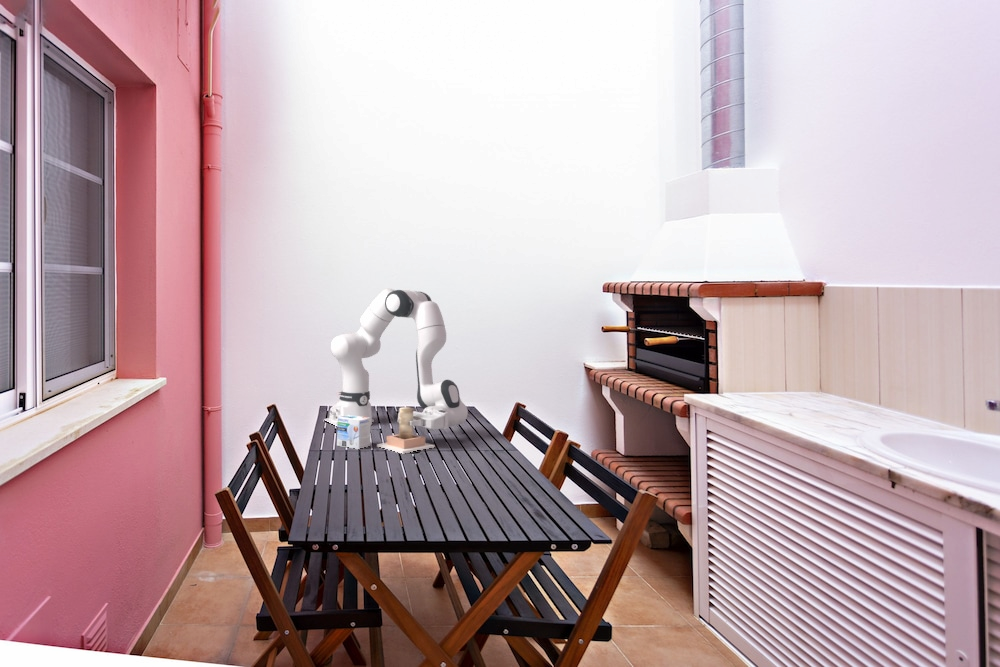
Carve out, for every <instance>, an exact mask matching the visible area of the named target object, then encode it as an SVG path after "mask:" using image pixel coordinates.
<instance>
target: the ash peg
mask: <svg viewBox="0 0 1000 667" xmlns="http://www.w3.org/2000/svg"><path fill="white" fill-rule="evenodd" d="M413 411H414V407H409V406H405V407H399V412H400V413H399V412H398V413H399V423H398V425H399V427H398V429H399V430H398V432H399V433H398V434H399V438H401V439H410V438H413V434H414V426H410V425H409V421H410V420H413Z"/></svg>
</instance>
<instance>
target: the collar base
mask: <svg viewBox="0 0 1000 667" xmlns="http://www.w3.org/2000/svg"><path fill="white" fill-rule="evenodd" d="M379 447H381V448H380V449H382V448H385V449H384V450H386V449H388V450H387V451H390V450H392V451H391V452H393V451H395V452H394V453H397V452H398V453H399V454H401V453H402V455H405V453H406V454H411V453H414V452H413V451H416V452H418V451H417V450H421V451H424V450H423V449H426V450H430V449H429V448H432V449H435V448H436V446H435V444H431V443H429V442H426V436H423V435H418V434H415V433H413V438H410V439H401V438H399V433H398V434H393V435H387V436H386V442H382V443H377V444H376V448H379ZM434 447H435V448H434ZM410 452H411V453H410ZM398 453H397V454H398Z"/></svg>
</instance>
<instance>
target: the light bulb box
mask: <svg viewBox="0 0 1000 667" xmlns="http://www.w3.org/2000/svg"><path fill="white" fill-rule="evenodd" d="M371 426H372V425H371V418H368V417H361V416H353V415H346V416H342V417H338V423H337V427H336V428H337V430H336V432H337V433H336V436H337V437H336V446H337V447H342V448H347V447H349V448H348V449H353V448H355V449H354V450H358V449H359V450H361V449H360V448H363V449H365V448H364V447H366V448H369V447H368V446H370V447H371V428H372V427H371Z"/></svg>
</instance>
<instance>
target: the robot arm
mask: <svg viewBox="0 0 1000 667" xmlns="http://www.w3.org/2000/svg"><path fill="white" fill-rule="evenodd" d="M395 317H398V318H407V319H409V318H412V319H413V320H414V322H415V326H416V331H417V347H416V351H415V362H416V363H415V364H416V376H417V391H416V392H417V393H416V399H417V403H418V405H419V407H421V408H422V409H423V411H422V412H421V411H418V410H417V411H416V410H415V411H414V410H413V420H410V421H409V425H410V426H413V427H416V426H418V427H421V428H425V429H427V430H428V431H431V430H432V431H433V430H444V431H446V430H448V429H449V427H450V428H451V427H454V426H458V425H460V424H463V423H464V422H465V421H466V420H467V418H468V414H469V413H468V412H469V410H468V407H467V405H466V404H465V403H464V402H463V401H462V399H461V397H460V391H459V387H458V386H457V384H456V383H455V382H454V381H453V380H450V379H445V380H442V381H438V382H435V383H434V381H433V368H432V364H433V361H434V358H435V357H436V355H437V354H438V353H439V352H440V351H441V350H442V348H444V346H445V344H446V342H447V331H446V325H445V321H444V317H443V314H442V312H441V309H440V307H439V305H438V304H437V303H436V302H434V301H432V298H431V297H430V295H428V294H427V293H425V292H424V291H417V290H411V289H402V290H401V289H396V290H395V289H393V288H385V289H383V290H382V291H381V292H379V294H378V295H377V296H376V297H375V298H373V300H372V302H370V304H369V305H368V306H367V308H366V309H365V311H364V312H363V314H361V317H360V318H359V324H360V327H359V329H358V330H357V331H356V332H351V333H350V332H349V333H342V334H339V335H337V336H335V337H334V338H333V339H332V340H331V342H330V352H331V354H332V356H333V357H334V358H335V359H336V360H337V362H338V364H339V366H340V369H341V370H340V371H341V381H342V382H341V386H342V387H341V388H342V389H341V391H339V392H338V396H339V400H338V401H337V402H336V403H334V405H332V406H331V407H330V409H329V416H328V417H327V418H324V419H323V421H324V420H325V421H327V422H329V423H331V424H333V425H335V426H334V427H336V426H337V423H338V417H342V416H346V415H353V416H361V417H368V418H371V426H372V425H373V423H374V421H375V420H374V419H373V416H372V415H373V414H372V413H373V412H372V405H371V402H370V398H371V397H370V396H371V391H370V388H369V387H370V375H369V374H370V373H369V371H368V370H367V369H365V367H364V364H363V360H362V359H366V358H367V359H368V358H371V357H373V356H375V355H376V354H378V353H379V352H380V350H381V337H382V334H383V333H384V332H385V331H386V329H387V327H388V326H389V325H390V324H391V322H392V320H394V319H395ZM399 413H400V411H399V412H398V413H397V423H398V424H399ZM372 422H373V423H372ZM331 424H330V425H331ZM333 425H332V426H333Z"/></svg>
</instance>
